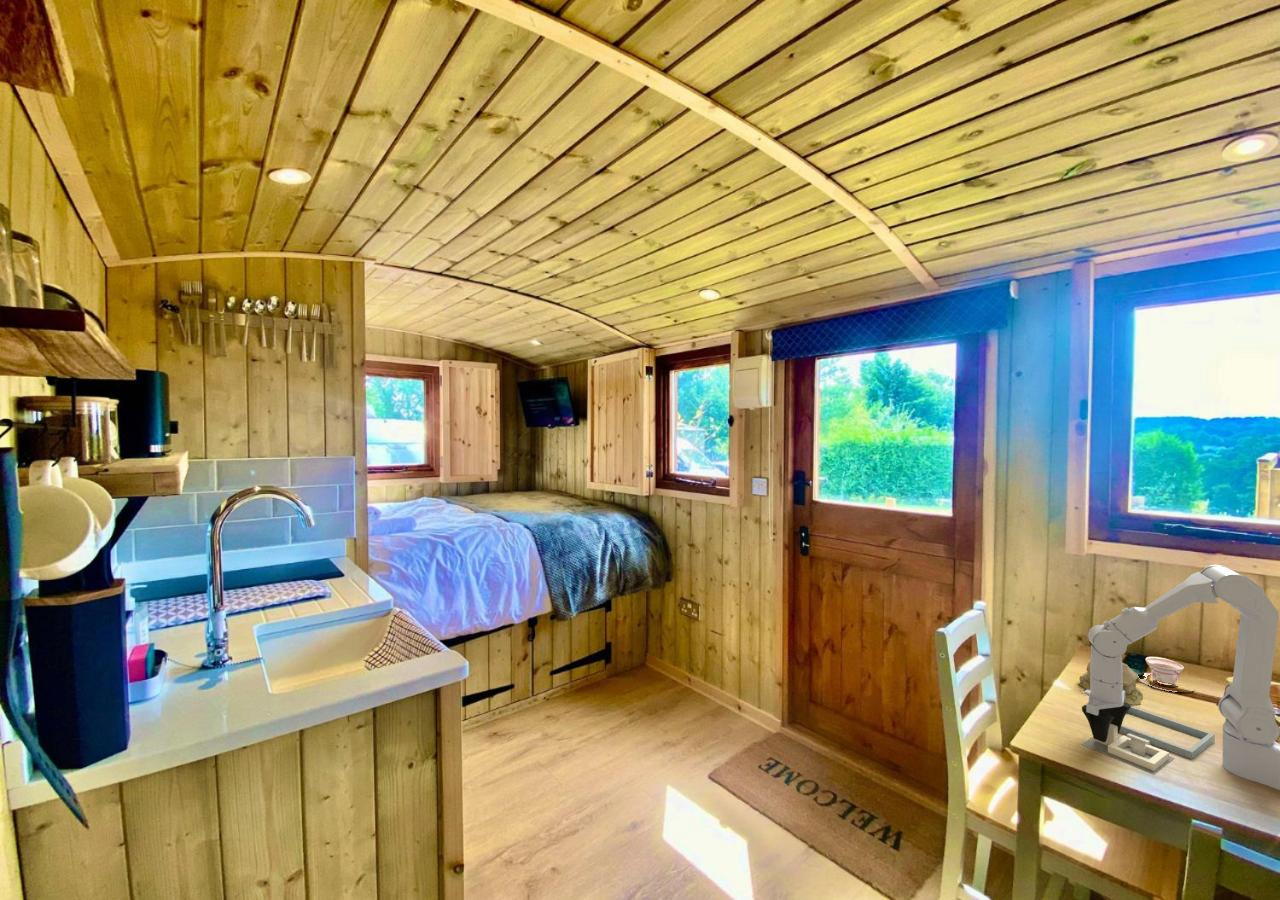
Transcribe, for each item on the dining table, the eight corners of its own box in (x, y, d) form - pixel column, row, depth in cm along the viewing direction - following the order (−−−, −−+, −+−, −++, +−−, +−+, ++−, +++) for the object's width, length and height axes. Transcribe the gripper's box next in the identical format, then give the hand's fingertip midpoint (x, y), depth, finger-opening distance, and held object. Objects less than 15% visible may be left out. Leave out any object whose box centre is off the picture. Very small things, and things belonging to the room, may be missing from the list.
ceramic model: (1152, 697, 148) (1152, 662, 148) (1134, 709, 143) (1134, 671, 142) (1090, 678, 161) (1089, 645, 160) (1071, 687, 155) (1071, 653, 155)
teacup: (1126, 674, 162) (1126, 653, 162) (1171, 675, 161) (1171, 655, 160) (1158, 693, 151) (1158, 671, 150) (1207, 695, 149) (1207, 673, 149)
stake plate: (1174, 762, 120) (1174, 740, 120) (1154, 779, 115) (1154, 755, 115) (1102, 734, 131) (1102, 714, 131) (1080, 748, 126) (1080, 727, 126)
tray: (1214, 744, 126) (1214, 734, 126) (1192, 763, 119) (1192, 752, 119) (1124, 713, 141) (1124, 703, 140) (1100, 728, 134) (1100, 718, 134)
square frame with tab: (1169, 759, 120) (1169, 739, 120) (1154, 770, 116) (1154, 750, 116) (1105, 734, 130) (1104, 716, 130) (1089, 744, 126) (1089, 725, 126)
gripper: (1099, 665, 133) (1099, 719, 133) (1070, 679, 126) (1070, 736, 126) (1136, 676, 127) (1136, 732, 127) (1108, 691, 120) (1108, 752, 120)
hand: (1106, 735), depth 126 cm, fingers open, 6 cm apart
